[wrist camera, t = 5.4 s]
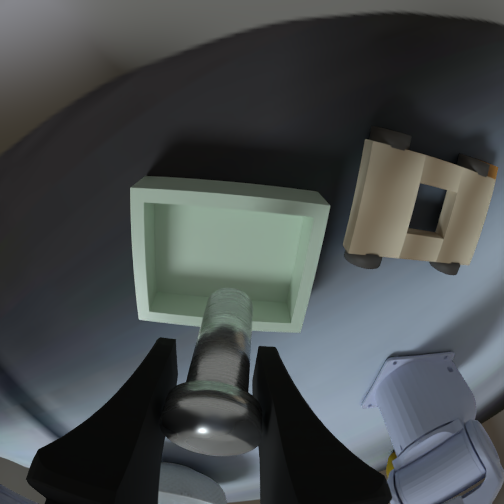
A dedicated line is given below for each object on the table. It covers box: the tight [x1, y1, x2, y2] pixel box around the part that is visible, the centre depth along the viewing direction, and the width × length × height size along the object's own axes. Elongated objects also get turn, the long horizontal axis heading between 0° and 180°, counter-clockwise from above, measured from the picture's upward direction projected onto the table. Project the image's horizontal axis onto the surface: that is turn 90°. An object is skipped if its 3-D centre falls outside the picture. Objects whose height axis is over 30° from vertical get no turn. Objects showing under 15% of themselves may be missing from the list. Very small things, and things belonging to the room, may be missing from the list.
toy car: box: [343, 126, 498, 275], centre depth 18 cm, size 12×9×3 cm
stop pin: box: [159, 288, 262, 456], centre depth 11 cm, size 3×3×7 cm
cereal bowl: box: [158, 462, 227, 504], centre depth 34 cm, size 17×17×7 cm
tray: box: [130, 176, 330, 333], centre depth 19 cm, size 11×9×3 cm
